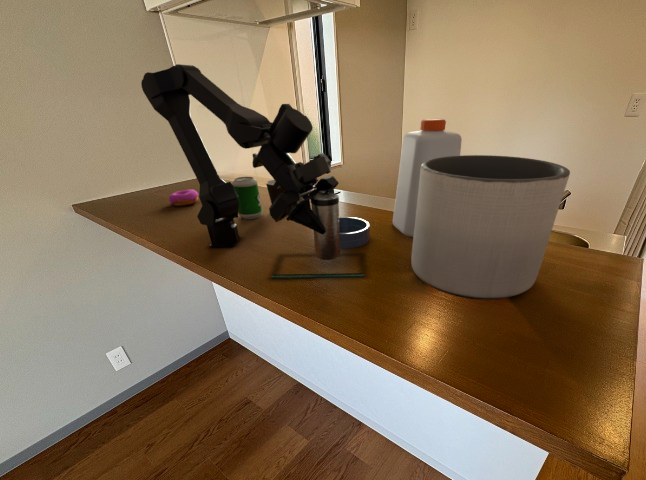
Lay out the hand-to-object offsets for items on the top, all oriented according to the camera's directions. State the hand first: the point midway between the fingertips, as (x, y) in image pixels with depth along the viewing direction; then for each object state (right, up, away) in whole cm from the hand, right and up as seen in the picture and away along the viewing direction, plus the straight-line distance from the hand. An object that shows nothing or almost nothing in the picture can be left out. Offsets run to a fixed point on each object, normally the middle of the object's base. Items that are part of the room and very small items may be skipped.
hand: (331, 228), depth 68 cm
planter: (+30, -10, +2) cm, 31 cm away
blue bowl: (+2, +1, +19) cm, 19 cm away
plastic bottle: (+25, +5, +25) cm, 36 cm away
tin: (-1, -5, +4) cm, 7 cm away
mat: (-3, -7, +6) cm, 10 cm away
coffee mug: (-18, +15, +42) cm, 49 cm away
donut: (-58, +21, +53) cm, 81 cm away
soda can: (-29, +13, +38) cm, 50 cm away
